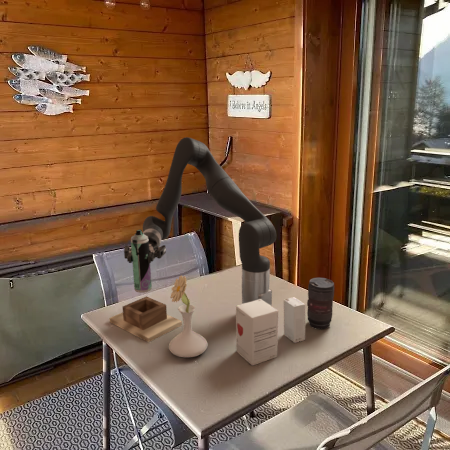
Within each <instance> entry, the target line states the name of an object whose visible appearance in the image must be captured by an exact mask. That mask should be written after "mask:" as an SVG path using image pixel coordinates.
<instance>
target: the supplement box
mask: <svg viewBox="0 0 450 450" xmlns="http://www.w3.org/2000/svg"><path fill="white" fill-rule="evenodd" d="M278 332H279V310H278V309H277V308H275V307H273V305H272V306H271V305H270V304H268V303H266V302H265V301H263V300H262V299H259V300H255V301H252V302H248V303H244V304H242V303H241V304H238V305H236V306H235V333H236V334H235V336H236V340H235V341H236V342H235V343H236V344H235V346H236V347H235V349H236V350H235V351H236V353H238V354H239V355H240V356H241V357H242V358H243V359H244V360H246V362H247V363H249V364H250V366H256V365H257V364H261V363H264V362H266V361H269V360H272V359H276V358H277V357H278V340H279V339H278V338H279V336H278Z"/></svg>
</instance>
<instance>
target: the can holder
mask: <svg viewBox="0 0 450 450" xmlns="http://www.w3.org/2000/svg"><path fill="white" fill-rule="evenodd" d="M109 323H111V324H112V325H115V326H117V327H119V328H121V329H123V330H124V331H126V332H127V333H130V334H131V335H134V336H135V337H137V338H139V339H141V340H143V341H144V342H147V343H150V342H152V341H154V340H157V339H158V338H160V337H162V336H164V335H166V334H168V333H170V332H172V331H174V330H176V329H178V328H180V327H182V326H183V320H180V319H178V318H176V317H174V316H171V315H169V314H168V313H167V304H165V303H162V302H160V301H158V300H156V299H153V298H151V297H149V296H144V297H141V298H139V299H137V300H135V301H133V302H130V303H128V304H125V305H122V312H120V313H118V314H115V315H113V316H111V317H109Z"/></svg>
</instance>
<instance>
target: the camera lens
mask: <svg viewBox="0 0 450 450" xmlns="http://www.w3.org/2000/svg"><path fill="white" fill-rule="evenodd" d="M307 286H308V289H307V290H308V291H307V297H308V299H307V302H306V303H307V304H306V307H307V310H306V311H307V312H306V313H307V321H308V325H309V326H310V327H311V328H312V327H313V329H315V328H316V330H326V329H328V328H329V327H330V326H331V322H332V318H333V306H334V305H333V304H334V298H335V282H333V280H331V279H328V278H325V277H313V278H311V279H309V283H308V285H307Z"/></svg>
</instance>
